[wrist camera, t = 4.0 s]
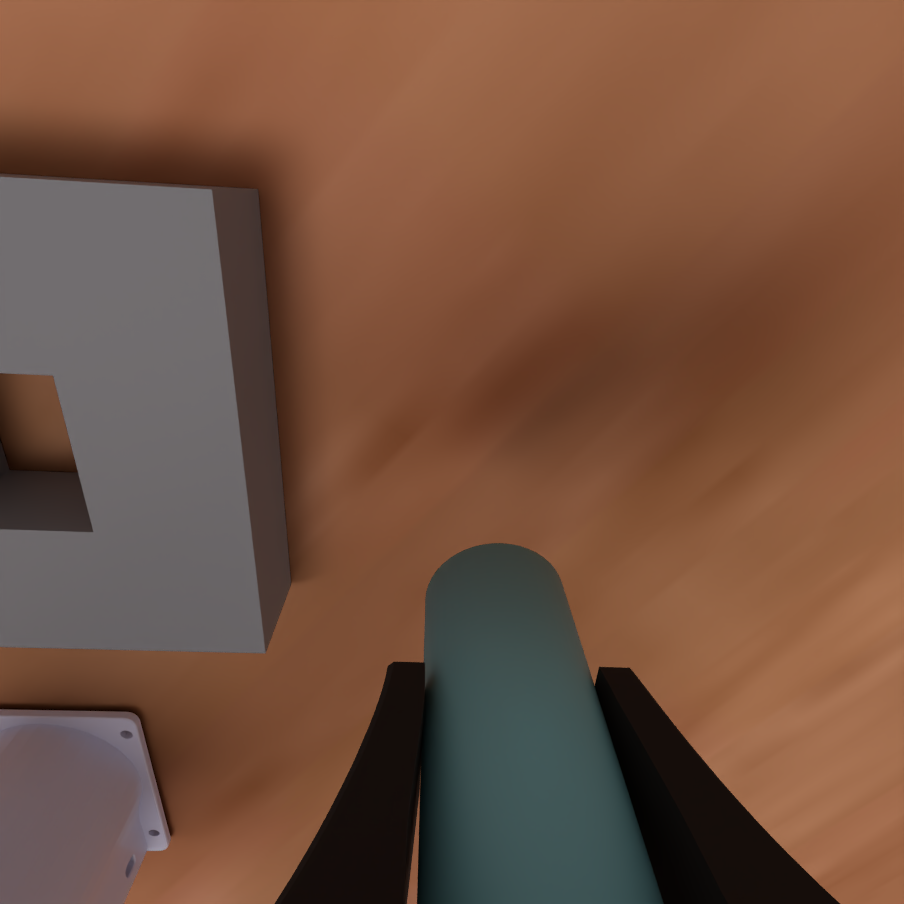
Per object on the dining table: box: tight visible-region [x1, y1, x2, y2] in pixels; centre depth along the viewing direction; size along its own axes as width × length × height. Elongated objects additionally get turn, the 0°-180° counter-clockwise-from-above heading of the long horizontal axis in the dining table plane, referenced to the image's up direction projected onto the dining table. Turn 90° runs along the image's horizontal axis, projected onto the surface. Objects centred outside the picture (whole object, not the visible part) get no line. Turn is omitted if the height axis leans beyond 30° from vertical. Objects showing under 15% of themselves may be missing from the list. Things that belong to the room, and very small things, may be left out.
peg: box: [417, 543, 664, 904], centre depth 10 cm, size 3×3×8 cm
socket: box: [0, 173, 291, 653], centre depth 17 cm, size 14×14×4 cm
